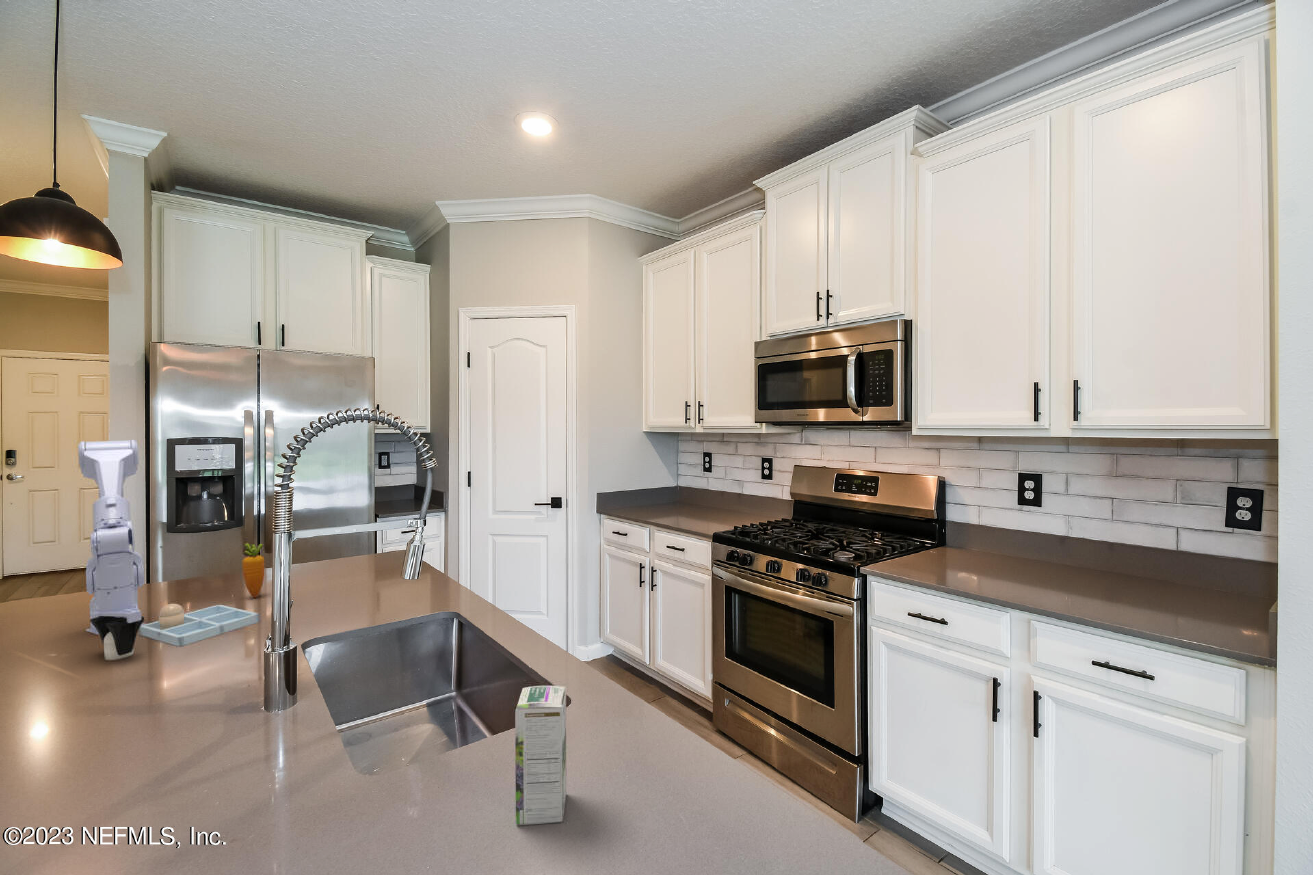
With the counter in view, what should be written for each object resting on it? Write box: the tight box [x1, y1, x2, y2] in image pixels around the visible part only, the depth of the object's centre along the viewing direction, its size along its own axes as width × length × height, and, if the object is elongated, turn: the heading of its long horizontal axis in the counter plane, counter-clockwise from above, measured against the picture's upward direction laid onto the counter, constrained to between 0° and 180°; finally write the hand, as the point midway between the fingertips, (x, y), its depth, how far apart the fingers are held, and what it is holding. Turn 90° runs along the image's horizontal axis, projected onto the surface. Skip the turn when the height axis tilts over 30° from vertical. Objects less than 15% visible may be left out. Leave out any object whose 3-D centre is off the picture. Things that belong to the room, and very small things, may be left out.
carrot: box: [241, 542, 265, 599], centre depth 162 cm, size 5×5×15 cm
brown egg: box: [158, 603, 185, 630], centre depth 136 cm, size 4×4×6 cm
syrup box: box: [514, 685, 567, 826], centre depth 75 cm, size 6×6×14 cm
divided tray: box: [138, 604, 261, 648], centre depth 138 cm, size 16×16×2 cm
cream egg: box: [103, 632, 134, 661], centre depth 123 cm, size 4×4×6 cm
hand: (119, 651), depth 123 cm, fingers closed on cream egg, 4 cm apart
